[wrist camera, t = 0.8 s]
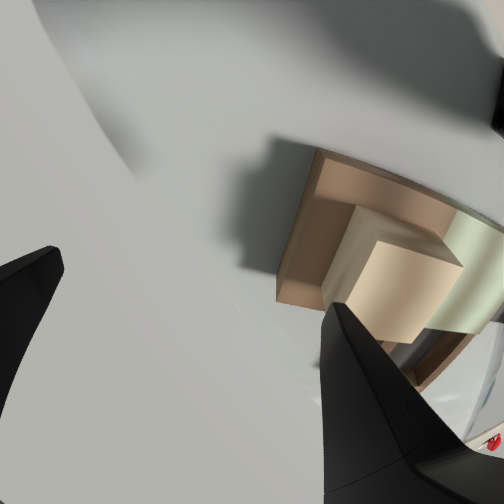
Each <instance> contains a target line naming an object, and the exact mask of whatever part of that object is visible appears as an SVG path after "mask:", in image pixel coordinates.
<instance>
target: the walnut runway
mask: <svg viewBox="0 0 504 504" xmlns="http://www.w3.org/2000/svg"><path fill="white" fill-rule="evenodd" d="M356 205H358V206H361V207H365V208H368V209H371V210H374V211H377V212H380V213H383V214H386V215H389V216H392V217H395V218H398V219H401V220H403V221H406V222H409V223H412V224H415V225H417V226H420V227H423V228H425V229H428V230H431V231H433V232H435V233H436V234H437V235H438V236H439V237H440V239H441V240H442V241H443V242H444V243H445V244H446V246H447V247H448V248H449V249H450V250H451V252H452V253H453V254H454V255H455V257H456V258H457V259H458V260H459V262H460V263H461V264H462V265H463V267H464V270H463V271H462V273H461V275H460V276H459V278H458V279H457V281H456V283H455V284H454V286H453V287H452V289H451V290H450V292H449V293H448V295H447V296H446V298H445V299H444V301H443V302H442V304H441V305H440V307H439V308H438V309H437V311H436V312H435V314H434V315H433V316H432V318H431V319H430V320H429V322H428V323H427V324H426V326H425V327H424V328H423V330H422V331H421V332H420V333H419V335H418V336H417V337H416V339H415V340H414V341H413V342H412V343H411V344H410V343H401V342H392V341H384V340H377V342H378V343H379V344H380V345H381V346H382V348H383V349H384V350H385V351H386V353H387V354H388V355H389V356H390V357H391V359H392V360H393V361H394V362H395V364H396V365H397V366H398V367H399V369H400V370H401V371H402V372H403V374H404V375H405V376H406V377H407V379H408V380H409V381H410V382H411V385H413V386H414V387H415V388H416V390H417V391H418V392H419V393H421V392H422V391H423V390H424V389H425V388H426V387H427V386H428V385H429V384H430V383H431V382H432V381H434V380H435V379H436V378H437V377H438V376H439V375H440V374H441V373H442V372H443V371H444V370H445V369H446V368H447V367H448V365H449V364H450V363H451V362H452V361H453V360H454V359H455V358H456V357H457V356H458V355H459V354H460V353H461V351H462V350H463V349H464V348H465V347H466V346H467V345H468V343H469V342H470V341H471V340H472V339H473V338H474V336H475V335H476V334H480V332H481V331H482V330H483V329H484V327H485V326H486V325H487V324H488V322H489V321H494V322H500V323H503V324H504V228H503V227H502V226H500V225H498V224H497V223H495V222H493V221H491V220H490V219H488V218H486V217H484V216H483V215H481V214H479V213H477V212H475V211H473V210H471V209H470V208H468V207H466V206H464V205H462V204H460V203H458V202H456V201H454V200H452V199H450V198H448V197H446V196H444V195H441V194H439V193H437V192H435V191H433V190H431V189H429V188H426V187H424V186H422V185H419V184H417V183H415V182H413V181H410V180H408V179H405V178H403V177H401V176H398V175H396V174H393V173H391V172H388V171H385V170H383V169H380V168H378V167H375V166H372V165H369V164H367V163H364V162H361V161H358V160H355V159H352V158H349V157H347V156H344V155H340V154H337V153H334V152H331V151H328V150H325V149H321V148H317V152H316V155H315V158H314V162H313V165H312V168H311V171H310V175H309V178H308V181H307V184H306V187H305V191H304V194H303V197H302V200H301V203H300V206H299V209H298V212H297V216H296V219H295V222H294V225H293V228H292V231H291V234H290V237H289V240H288V243H287V246H286V249H285V252H284V255H283V258H282V261H281V264H280V267H279V270H278V273H277V279H276V302H280V303H285V304H290V305H295V306H300V307H305V308H310V309H315V310H320V311H325V308H324V302H323V296H322V291H321V286H322V284H323V281H324V279H325V277H326V275H327V273H328V271H329V268H330V266H331V264H332V262H333V259H334V257H335V255H336V253H337V250H338V248H339V246H340V243H341V241H342V239H343V236H344V234H345V231H346V229H347V227H348V224H349V222H350V219H351V217H352V214H353V212H354V209H355V207H356Z"/></svg>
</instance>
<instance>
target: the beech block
mask: <svg viewBox="0 0 504 504" xmlns="http://www.w3.org/2000/svg"><path fill="white" fill-rule="evenodd" d="M463 270H464V267H463V265H462V264H461V263H460V262H459V260H458V259H457V258H456V257H455V255H454V254H453V253H452V252H451V250H450V249H449V248H448V247H447V246H446V244H445V243H444V242H443V241H442V240H441V239H440V237H439V236H438V235H437V234H436V233H435V232H433V231H431V230H428V229H425V228H423V227H420V226H417V225H415V224H412V223H409V222H406V221H403V220H401V219H398V218H395V217H392V216H389V215H386V214H383V213H380V212H377V211H374V210H371V209H368V208H365V207H361V206H358V205H356V207H355V209H354V212H353V214H352V217H351V219H350V222H349V224H348V227H347V229H346V231H345V234H344V236H343V239H342V241H341V243H340V246H339V248H338V250H337V253H336V255H335V257H334V259H333V262H332V264H331V266H330V268H329V271H328V273H327V275H326V277H325V279H324V281H323V284H322V286H321V291H322V296H323V302H324V308H325V314H326V312H327V310H328V308H329V306H330V304H331V303H332V302H340V303H345V304H346V305H347V306H348V307H349V308H350V310H351V311H352V312H353V313H354V314H355V315H356V317H357V318H358V319H359V320H360V321H361V322H362V324H363V325H364V326H365V327H366V328H367V330H368V331H369V332H370V333H371V334H372V336H373V337H374V338H375V339H376V340H384V341H392V342H401V343H410V344H411V343H412V342H413V341H414V340H415V339H416V337H417V336H418V335H419V333H420V332H421V331H422V330H423V328H424V327H425V326H426V324H427V323H428V322H429V320H430V319H431V318H432V316H433V315H434V314H435V312H436V311H437V309H438V308H439V307H440V305H441V304H442V302H443V301H444V299H445V298H446V296H447V295H448V293H449V292H450V290H451V289H452V287H453V286H454V284H455V283H456V281H457V279H458V278H459V276H460V275H461V273H462V271H463Z"/></svg>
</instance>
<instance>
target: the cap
mask: <svg viewBox="0 0 504 504" xmlns="http://www.w3.org/2000/svg"><path fill="white" fill-rule="evenodd" d="M494 439H495V438H493V441H490V440H488V446H487V448H488V449H489V450H490V451H494V450H495V449H497V447H498V446H499V445H500V443H501V438H500V433H499V434H498V436H497V439H496V440H495V441H494Z"/></svg>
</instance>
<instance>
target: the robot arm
mask: <svg viewBox="0 0 504 504" xmlns="http://www.w3.org/2000/svg"><path fill="white" fill-rule="evenodd" d="M497 124H498V127H497ZM492 127H493V129H494V130H495V131H496V132H497V133H498V134H499V135H501V136H502V137H503V138H504V70H503V76H502V82H501V87H500V92H499V97H498V101H497V106H496V110H495V114H494V118H493V122H492ZM63 273H64V264H63V261H62V256H61V253H60V250H59V248H57V247H54V246H46V247H44V248H41V249H39V250H37V251H35V252H32V253H29V254H27V255H25V256H22V257H20V258H18V259H15V260H13V261H11V262H9V263H7V264H4V265H2V266H0V417H1V414H2V411H3V408H4V405H5V401H6V399H7V396H8V393H9V390H10V388H11V385H12V382H13V380H14V377H15V375H16V372H17V370H18V367H19V365H20V363H21V361H22V358H23V356H24V354H25V352H26V350H27V347H28V345H29V343H30V341H31V339H32V337H33V335H34V333H35V331H36V329H37V327H38V325H39V323H40V321H41V319H42V317H43V315H44V314H45V312H46V310H47V308H48V306H49V303H50V301H51V299H52V296H53V294H54V292H55V290H56V288H57V286H58V284H59V282H60V279H61V277H62V275H63ZM320 383H321V400H322V418H323V446H324V493H325V494H324V504H504V459H503V458H498V457H494V456H489V455H485V454H481V453H478V452H475V451H473V450H472V449H470V448H469V447H467V446H466V445H465V444H464V443H463V442H462V441H461V440H460V439H459V438H458V437H457V436H456V434H455V433H454V432H453V431H452V430H451V429H450V428H449V427H448V426H447V425H446V424H445V422H444V421H443V420H442V419H441V418H440V417H439V416H438V415H437V414H436V413H435V411H434V410H433V409H432V408H431V407H430V406H429V405H428V403H427V402H426V401H425V400H424V398H423V397H422V396H421V395H420V394H419V392H418V391H417V390H416V388H415V387H414V386H413V385H411V382H410V381H409V380H408V379H407V377H406V376H405V375H404V374H403V372H402V371H401V370H400V369H399V367H398V366H397V365H396V364H395V362H394V361H393V360H392V359H391V357H390V356H389V355H388V354H387V353H386V351H385V350H384V349H383V348H382V346H381V345H380V344H379V343H378V342H377V340H376V339H375V338H374V337H373V336H372V334H371V333H370V332H369V331H368V330H367V328H366V327H365V326H364V325H363V324H362V322H361V321H360V320H359V319H358V318H357V317H356V315H355V314H354V313H353V312H352V311H351V310H350V308H349V307H348V306H347V305H346V304H345V303H340V302H332V303H331V304H330V306H329V308H328V310H327V312H326V315H325V317H324V319H323V322H322V326H321V353H320ZM0 504H4V503H3V502H2V501H1V500H0Z"/></svg>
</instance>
